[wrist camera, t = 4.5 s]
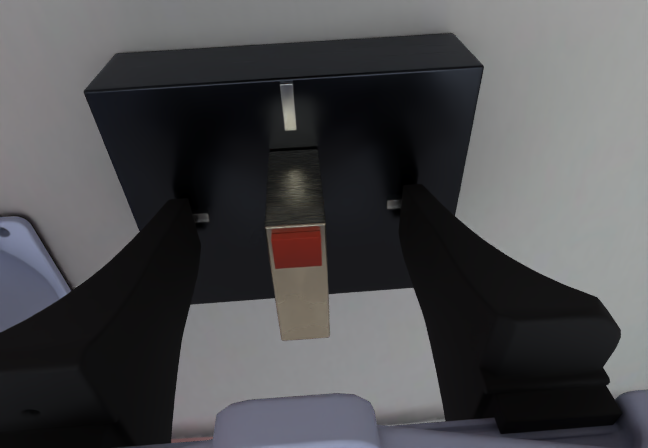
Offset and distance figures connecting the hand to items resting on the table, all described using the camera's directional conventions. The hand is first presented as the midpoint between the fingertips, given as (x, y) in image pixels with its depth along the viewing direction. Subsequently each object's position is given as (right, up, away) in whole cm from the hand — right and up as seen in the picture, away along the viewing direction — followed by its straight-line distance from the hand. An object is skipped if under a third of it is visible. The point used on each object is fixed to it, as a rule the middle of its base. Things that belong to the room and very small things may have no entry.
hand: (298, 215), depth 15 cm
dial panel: (0, +2, +3) cm, 3 cm away
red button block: (0, 0, 0) cm, 0 cm away
